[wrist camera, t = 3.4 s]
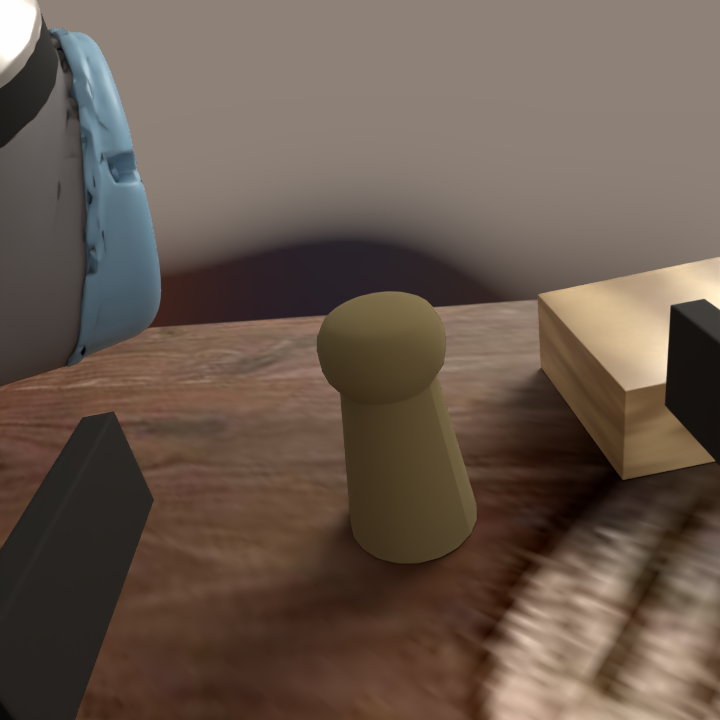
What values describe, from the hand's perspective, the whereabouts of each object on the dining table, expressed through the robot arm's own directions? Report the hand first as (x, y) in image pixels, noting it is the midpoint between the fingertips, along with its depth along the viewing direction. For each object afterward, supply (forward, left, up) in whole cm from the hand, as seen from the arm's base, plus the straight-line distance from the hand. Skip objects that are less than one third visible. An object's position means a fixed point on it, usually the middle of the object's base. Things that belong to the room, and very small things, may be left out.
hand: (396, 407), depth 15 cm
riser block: (+12, +18, -13) cm, 25 cm away
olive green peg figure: (-2, +10, -13) cm, 16 cm away
